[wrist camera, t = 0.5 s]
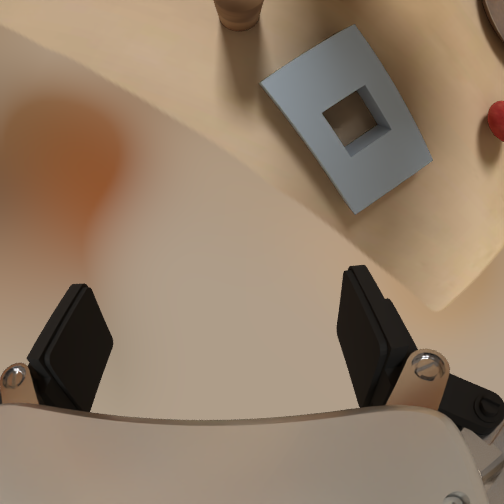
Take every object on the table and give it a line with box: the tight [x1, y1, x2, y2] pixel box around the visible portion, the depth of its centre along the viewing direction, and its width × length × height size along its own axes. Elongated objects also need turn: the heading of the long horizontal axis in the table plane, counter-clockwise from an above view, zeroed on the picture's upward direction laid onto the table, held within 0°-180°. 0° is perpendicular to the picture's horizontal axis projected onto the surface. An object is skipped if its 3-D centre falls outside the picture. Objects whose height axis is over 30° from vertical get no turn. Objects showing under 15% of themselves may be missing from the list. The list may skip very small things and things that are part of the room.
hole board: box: [259, 24, 433, 215], centre depth 32 cm, size 12×18×4 cm, turn 38°
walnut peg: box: [214, 0, 264, 31], centre depth 23 cm, size 4×4×10 cm
